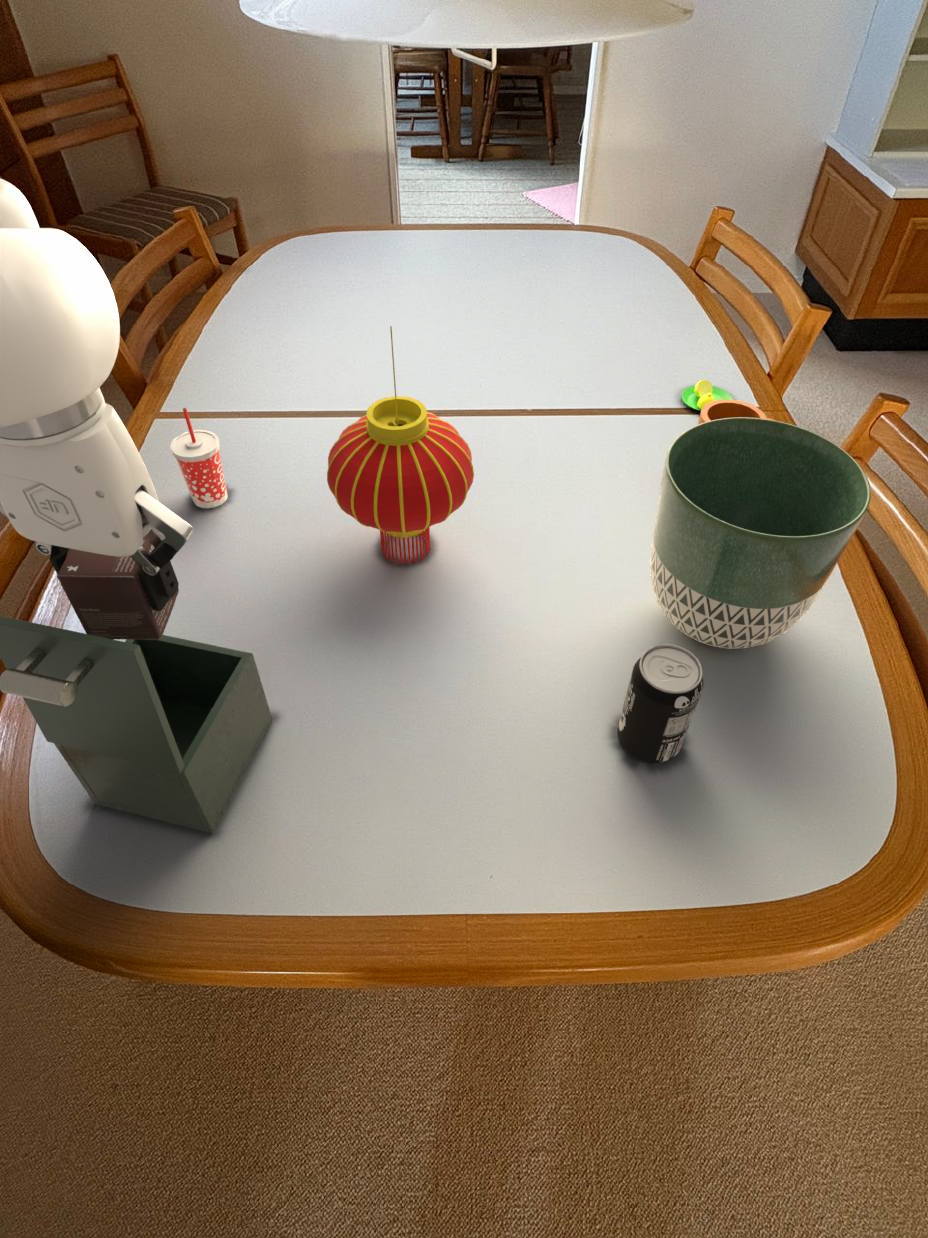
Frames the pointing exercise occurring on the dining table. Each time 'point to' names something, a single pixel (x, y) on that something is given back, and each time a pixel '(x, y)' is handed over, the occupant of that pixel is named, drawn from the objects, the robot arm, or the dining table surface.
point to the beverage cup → (201, 465)
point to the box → (111, 596)
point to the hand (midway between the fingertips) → (123, 588)
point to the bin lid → (87, 692)
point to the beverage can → (660, 703)
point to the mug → (729, 410)
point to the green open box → (187, 736)
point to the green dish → (703, 394)
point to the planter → (750, 527)
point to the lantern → (400, 471)
